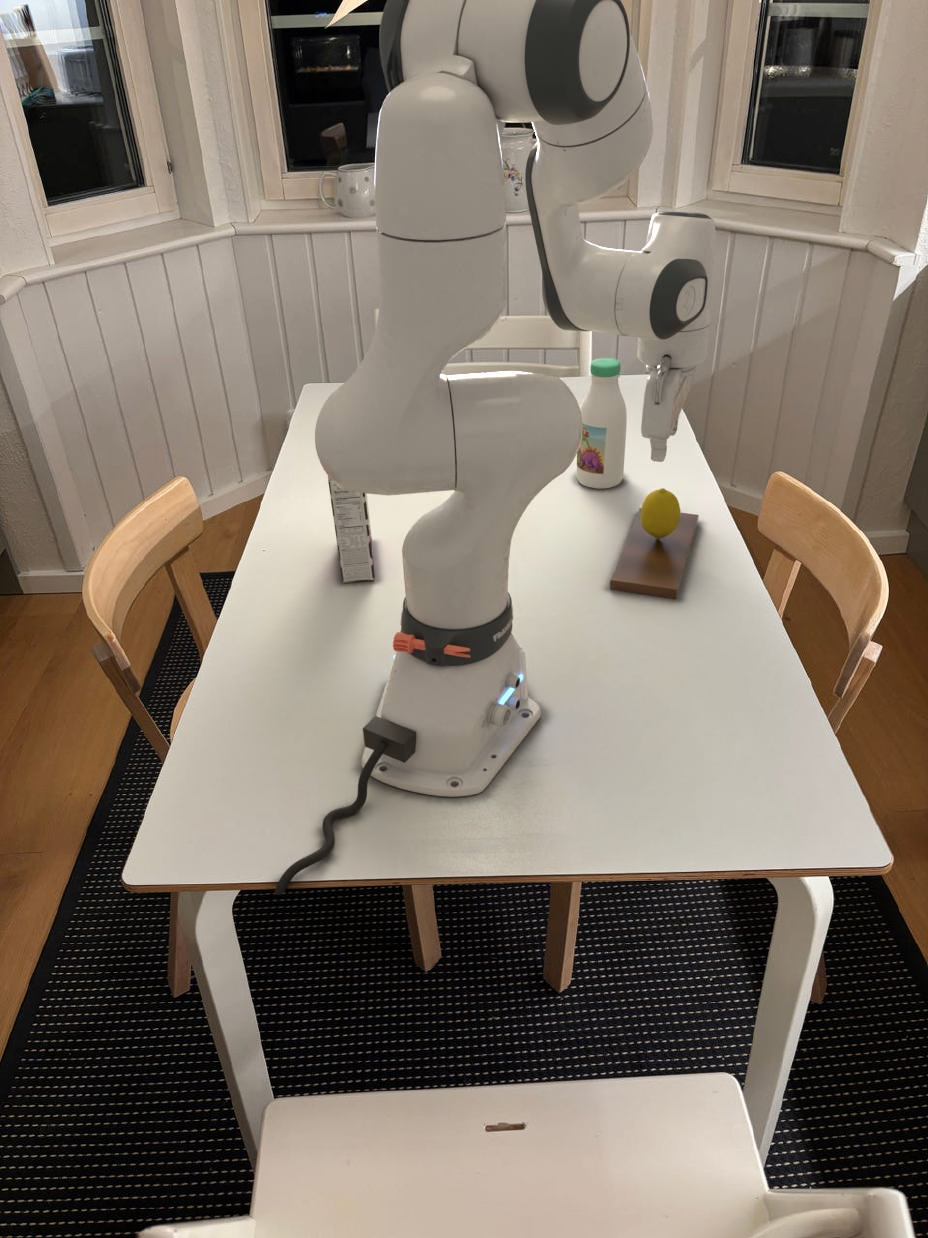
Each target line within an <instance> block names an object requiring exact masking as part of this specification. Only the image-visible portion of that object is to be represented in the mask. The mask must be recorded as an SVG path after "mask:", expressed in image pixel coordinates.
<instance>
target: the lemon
mask: <svg viewBox="0 0 928 1238" xmlns="http://www.w3.org/2000/svg"><path fill="white" fill-rule="evenodd" d="M640 508H641V524H642V526H643V528H644V530H645V531H646V532H647V533H648V534H649V535H651V536H654V537H655V538H656V539H660V538H662V537H665V536H668V535H669V534H671V533H672V532H673V531H674V530H675V529H676V527H677V525H678V523H679V519H680V513H681V507H680V502H679V500H678V497H677V496H676V495H675V494H674V493H673V492H672V491H670V490H668V489H665V488H664V487H662V488H661V487H660V488H659V489H656V490H653V491H651V492H650V493H648V494H647V495H646V497H645V498H644V500H643V503H642V504H641V507H640Z"/></svg>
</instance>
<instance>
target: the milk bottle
mask: <svg viewBox="0 0 928 1238" xmlns="http://www.w3.org/2000/svg"><path fill="white" fill-rule="evenodd" d="M589 368H590V369H589V370H590V371H589V372H590V374H589V375H590V378H591V382H590V384H589V387H588V389H587V392H586V393H585V396H584V397H583V400H582V402H581V405H580V411H581V416H582V424H583V429H582V439H581V443H580V447H579V449H578V452H577V454H576V470H575V471H576V476H575V477H576V479H577V481H578V483H579V484H581V485H583V486H585V487H587V488H591V489H610V488H613V487H614V488H615V487H616V486H619V484H621V482H622V481H623V478H624V472H625V471H624V470H625V457H626V455H625V454H626V442H627V441H626V440H627V423H628V422H627V420H628V418H627V417H628V415H627V414H628V413H627V407H626V402H625V400H624V397H623V394H622V392H621V389H620V384H619V378H620V376H621V374H620V373H621V362H620V361H619V360H618V359H615V358H612V357H611V358H610V357H600V358H596V359H593V360H592V361H591V362H590V367H589Z"/></svg>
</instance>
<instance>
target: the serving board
mask: <svg viewBox="0 0 928 1238" xmlns="http://www.w3.org/2000/svg"><path fill="white" fill-rule="evenodd" d="M641 508H642V507H639V508H638V509H637V512H636V515H635V517H634V520H633V522H632V525H631V527H630V530H629V531H628V535H627V537H626V540H625V542H624V544H623V547H622V550H621V552H620V555H619V557H618V559H617V563H616V565H615V566H614V567H615V568H614V570H613V573H612V574H611V577H610V580H609V581H610V582H609V590H613V591H619V592H620V591H621V592H626V593H627V592H628V593H632V594H633V593H634V594H640V595H648V596H654V597H659V598H660V597H661V598H667V599H674V600H677V597H678V594H679V590H680V587H681V583H682V580H683V576H684V573H685V569H686V565H687V562H688V559H689V555H690V551H691V548H692V545H693V541H694V538H695V534H696V530H697V527H698V524H699V523H698V522H699V514H695V513H688V512H687V513H686V512H680V519H679V523H678V525H677V527H676V529H675V530H674V531H673V532H672V533H671V534H669V535H668V536H665V537H662V538H660V539H656V538H655V537H654V536H651V535H649V534H648V533H647V532H646V531H645V530H644V528H643V526H642V524H641Z"/></svg>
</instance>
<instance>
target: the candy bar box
mask: <svg viewBox="0 0 928 1238" xmlns="http://www.w3.org/2000/svg"><path fill="white" fill-rule="evenodd" d="M327 482H328V489H329V495H330V504H331V511H332V519H333V524H334V530H335V531H334V532H335V539H336V546H337V552H338V561H339V568H340V575H341V581H342V583H343V584H348V583H350V584H351V583H359V582H360V583H361V582H367V581H376V573H375V572H376V571H375V559H374V557H375V556H374V546H373V536H372V529H371V521H370V512H369V511H370V510H369V501H368V494H367V493H360V492H352V491H345V490H342V489H341V488H339V487H338V486H337V485H336V484H335V483H334V482H333V481H332V480H331V479H330V478H329V476H328V475H327Z"/></svg>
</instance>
